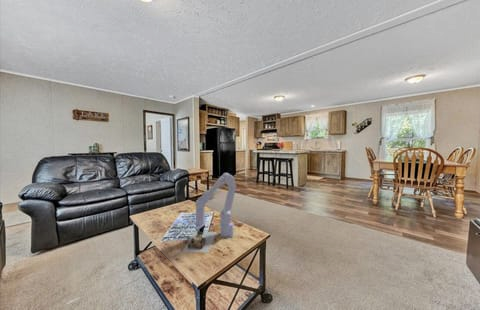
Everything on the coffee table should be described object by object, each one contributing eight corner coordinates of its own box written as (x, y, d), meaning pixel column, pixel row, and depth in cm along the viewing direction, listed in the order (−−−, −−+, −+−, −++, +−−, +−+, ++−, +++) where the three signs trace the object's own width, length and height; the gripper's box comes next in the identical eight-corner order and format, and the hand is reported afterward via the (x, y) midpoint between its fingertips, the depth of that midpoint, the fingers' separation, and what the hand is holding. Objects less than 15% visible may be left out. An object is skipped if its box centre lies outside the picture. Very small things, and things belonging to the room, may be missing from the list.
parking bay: (205, 242, 112) (205, 238, 112) (202, 248, 105) (202, 244, 105) (192, 241, 113) (192, 238, 112) (188, 248, 105) (188, 244, 105)
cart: (196, 239, 115) (196, 231, 115) (203, 239, 115) (203, 231, 115) (193, 244, 109) (193, 236, 109) (201, 244, 109) (201, 236, 109)
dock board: (216, 232, 125) (216, 232, 125) (208, 253, 101) (208, 252, 101) (194, 232, 126) (194, 231, 126) (181, 252, 102) (181, 251, 102)
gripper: (197, 212, 124) (198, 231, 125) (190, 221, 109) (191, 242, 110) (207, 213, 123) (207, 231, 124) (201, 221, 109) (202, 242, 110)
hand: (200, 236), depth 117 cm, fingers closed
